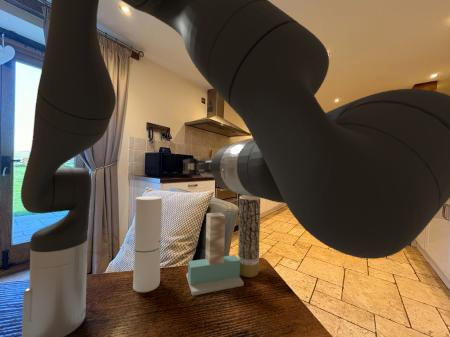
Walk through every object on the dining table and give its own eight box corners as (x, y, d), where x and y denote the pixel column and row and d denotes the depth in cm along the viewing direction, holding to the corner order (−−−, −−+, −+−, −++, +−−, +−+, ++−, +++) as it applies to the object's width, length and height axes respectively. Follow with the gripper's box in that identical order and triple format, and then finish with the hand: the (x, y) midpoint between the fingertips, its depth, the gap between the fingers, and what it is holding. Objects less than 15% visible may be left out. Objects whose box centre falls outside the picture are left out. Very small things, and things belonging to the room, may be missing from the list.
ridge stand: (192, 295, 52) (192, 273, 52) (186, 276, 62) (186, 257, 62) (243, 285, 57) (244, 264, 57) (230, 268, 67) (231, 251, 67)
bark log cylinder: (262, 276, 63) (264, 197, 63) (243, 280, 60) (245, 198, 60) (252, 266, 69) (253, 195, 69) (234, 269, 66) (236, 195, 67)
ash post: (209, 265, 56) (210, 216, 57) (205, 258, 61) (206, 213, 61) (224, 263, 58) (225, 215, 58) (219, 256, 62) (220, 212, 62)
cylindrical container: (163, 278, 60) (165, 196, 60) (154, 292, 53) (156, 199, 53) (140, 277, 60) (142, 195, 60) (128, 291, 53) (130, 199, 53)
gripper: (289, 144, 30) (243, 152, 45) (196, 136, 25) (179, 148, 40) (288, 193, 30) (242, 185, 45) (194, 195, 25) (178, 185, 40)
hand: (213, 167), depth 42 cm, fingers open, 8 cm apart
